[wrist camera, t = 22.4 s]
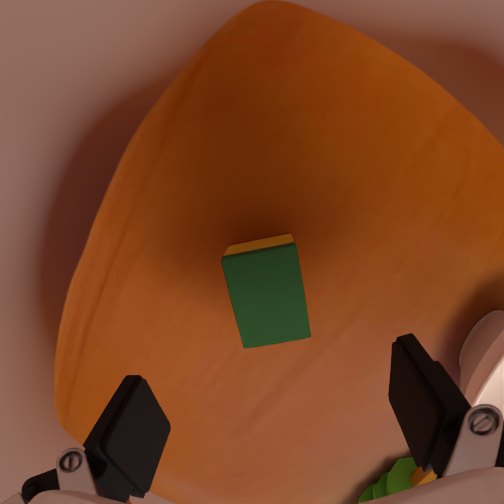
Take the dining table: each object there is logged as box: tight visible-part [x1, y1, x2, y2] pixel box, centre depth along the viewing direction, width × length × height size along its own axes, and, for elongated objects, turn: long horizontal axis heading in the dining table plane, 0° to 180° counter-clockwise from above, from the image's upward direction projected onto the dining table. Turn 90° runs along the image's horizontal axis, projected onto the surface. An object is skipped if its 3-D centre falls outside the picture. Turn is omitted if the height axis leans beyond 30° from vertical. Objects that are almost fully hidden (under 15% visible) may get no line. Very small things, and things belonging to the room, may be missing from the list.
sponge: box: [221, 234, 311, 348], centre depth 21 cm, size 7×5×4 cm
